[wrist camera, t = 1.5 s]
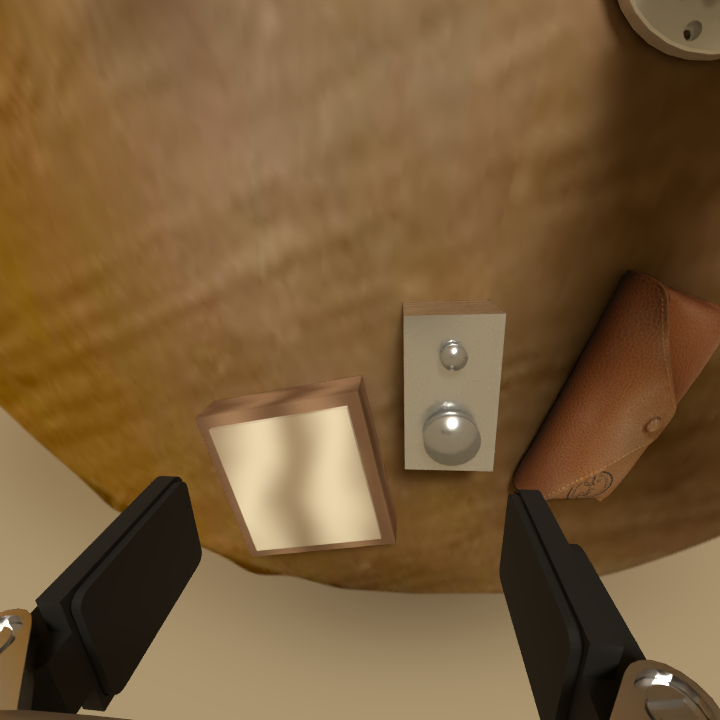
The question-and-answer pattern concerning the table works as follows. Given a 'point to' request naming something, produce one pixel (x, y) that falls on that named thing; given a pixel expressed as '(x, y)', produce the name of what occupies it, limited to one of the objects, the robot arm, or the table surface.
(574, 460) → the sunglasses case
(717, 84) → the table surface
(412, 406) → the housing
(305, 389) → the stand
